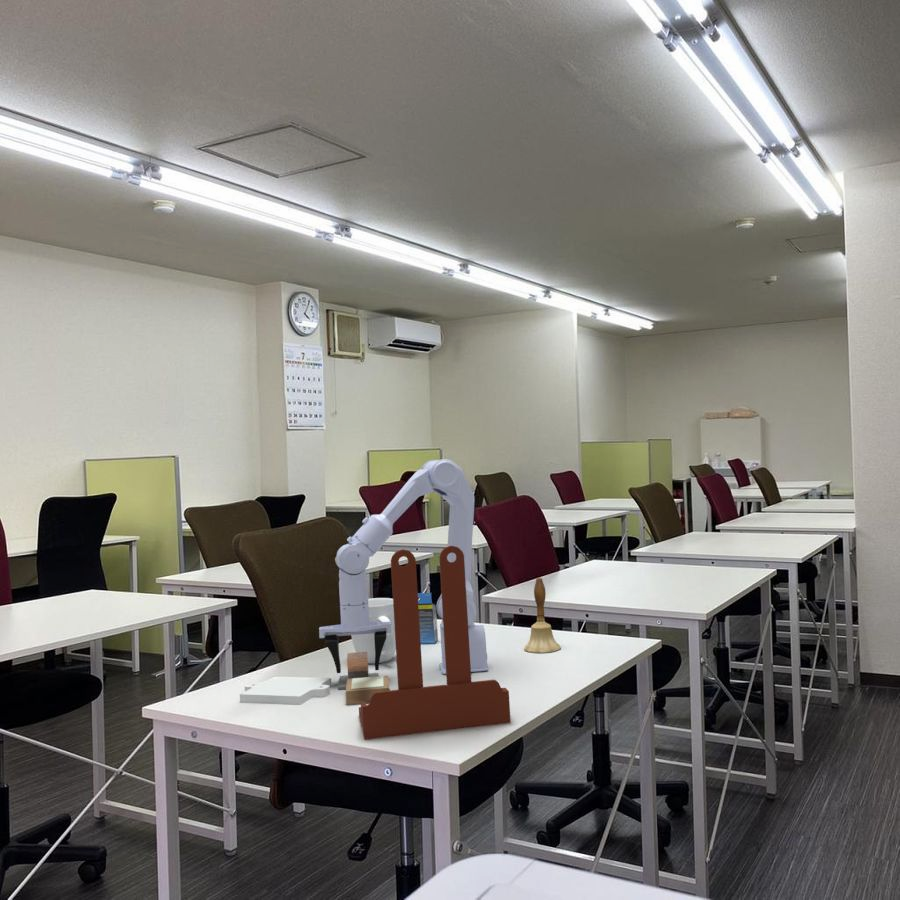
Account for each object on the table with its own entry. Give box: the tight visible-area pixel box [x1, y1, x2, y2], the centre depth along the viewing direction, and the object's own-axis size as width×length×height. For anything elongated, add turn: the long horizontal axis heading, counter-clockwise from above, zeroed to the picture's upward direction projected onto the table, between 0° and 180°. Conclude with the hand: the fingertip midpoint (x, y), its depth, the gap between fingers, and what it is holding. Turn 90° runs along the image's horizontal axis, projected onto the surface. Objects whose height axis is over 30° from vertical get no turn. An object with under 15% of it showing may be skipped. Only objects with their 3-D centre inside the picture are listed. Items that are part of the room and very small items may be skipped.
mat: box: [337, 672, 380, 691], centre depth 172 cm, size 8×9×1 cm
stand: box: [345, 675, 390, 706], centre depth 161 cm, size 8×9×3 cm
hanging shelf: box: [358, 545, 511, 741], centre depth 145 cm, size 24×13×30 cm, turn 100°
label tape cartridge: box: [418, 592, 439, 645], centre depth 206 cm, size 9×4×12 cm, turn 77°
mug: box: [350, 597, 396, 665], centre depth 188 cm, size 15×11×13 cm
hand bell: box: [523, 577, 562, 654], centre depth 191 cm, size 8×8×16 cm
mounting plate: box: [239, 676, 332, 706], centre depth 166 cm, size 18×13×2 cm
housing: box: [346, 651, 369, 679], centre depth 172 cm, size 4×6×5 cm, turn 5°
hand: (357, 670), depth 172 cm, fingers open, 7 cm apart
